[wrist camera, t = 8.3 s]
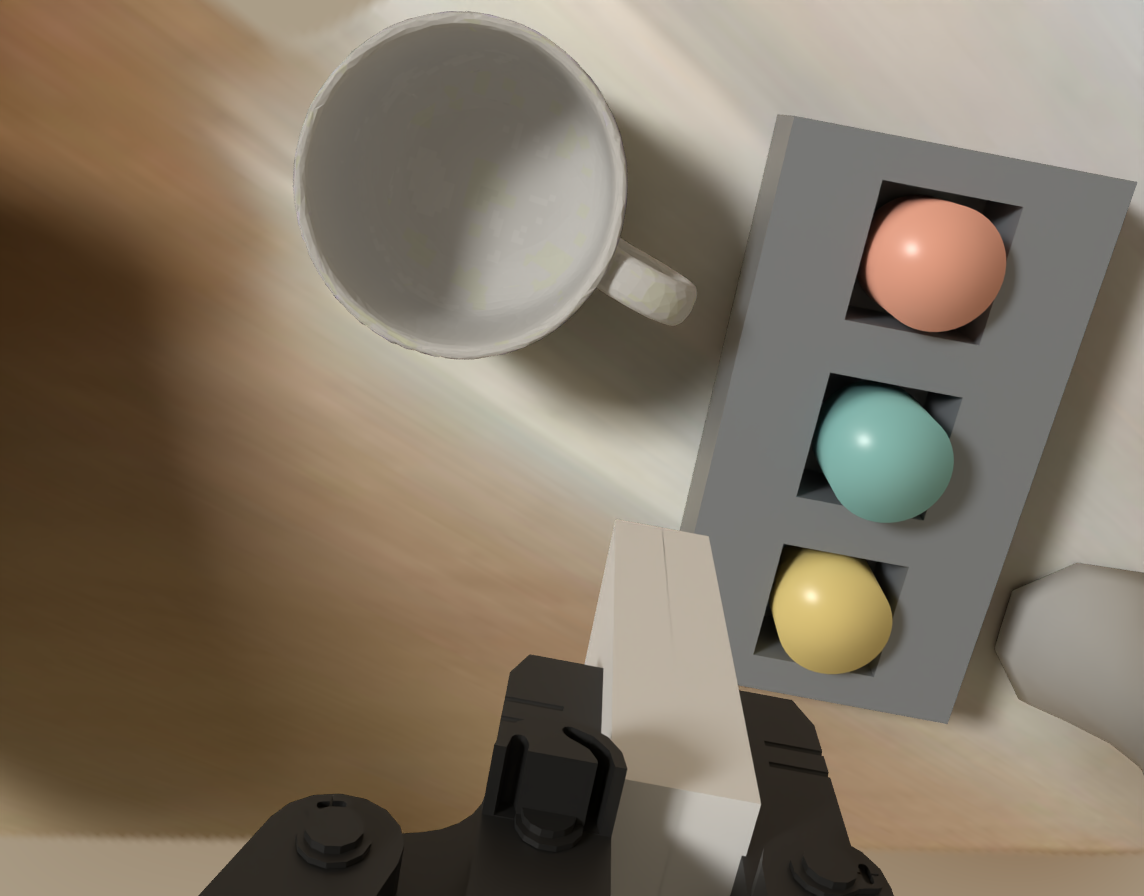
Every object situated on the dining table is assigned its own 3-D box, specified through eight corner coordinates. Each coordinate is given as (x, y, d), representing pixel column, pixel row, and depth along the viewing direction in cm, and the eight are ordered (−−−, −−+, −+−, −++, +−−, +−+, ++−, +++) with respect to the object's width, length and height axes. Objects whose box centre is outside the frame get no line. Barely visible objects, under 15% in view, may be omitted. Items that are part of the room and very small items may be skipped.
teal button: (798, 475, 41) (815, 510, 38) (827, 370, 40) (847, 396, 36) (906, 496, 41) (933, 532, 38) (939, 391, 40) (969, 419, 36)
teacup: (299, 200, 41) (226, 223, 33) (460, -37, 38) (420, -71, 30) (575, 412, 43) (565, 479, 36) (748, 205, 40) (776, 229, 33)
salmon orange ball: (840, 300, 40) (861, 319, 36) (871, 184, 38) (896, 192, 35) (951, 321, 40) (983, 342, 36) (987, 206, 38) (1023, 217, 35)
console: (657, 623, 46) (661, 670, 42) (777, 114, 39) (794, 116, 35) (920, 672, 46) (947, 723, 42) (1087, 174, 39) (1137, 182, 35)
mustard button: (754, 618, 44) (765, 663, 41) (779, 525, 43) (793, 563, 39) (854, 637, 44) (874, 683, 41) (883, 545, 43) (906, 584, 39)
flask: (996, 715, 47) (1090, 870, 37) (987, 572, 45) (1085, 699, 35) (1162, 694, 46) (1302, 847, 37) (1162, 547, 44) (1309, 670, 34)
